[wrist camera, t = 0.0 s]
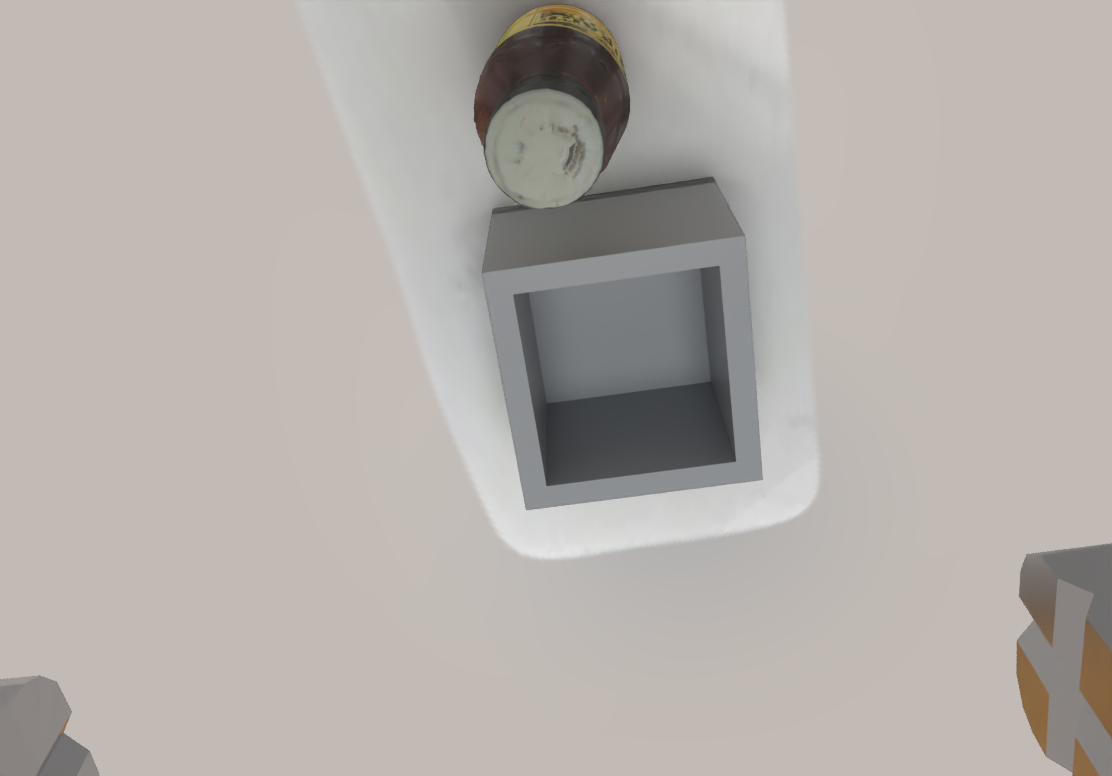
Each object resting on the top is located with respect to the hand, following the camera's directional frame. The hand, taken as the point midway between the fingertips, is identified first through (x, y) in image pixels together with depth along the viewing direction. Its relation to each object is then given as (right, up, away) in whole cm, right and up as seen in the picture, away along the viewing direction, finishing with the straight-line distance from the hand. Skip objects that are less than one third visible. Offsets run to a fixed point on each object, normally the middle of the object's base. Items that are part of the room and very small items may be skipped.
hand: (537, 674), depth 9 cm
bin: (+4, +7, +49) cm, 50 cm away
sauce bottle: (0, +19, +44) cm, 48 cm away
